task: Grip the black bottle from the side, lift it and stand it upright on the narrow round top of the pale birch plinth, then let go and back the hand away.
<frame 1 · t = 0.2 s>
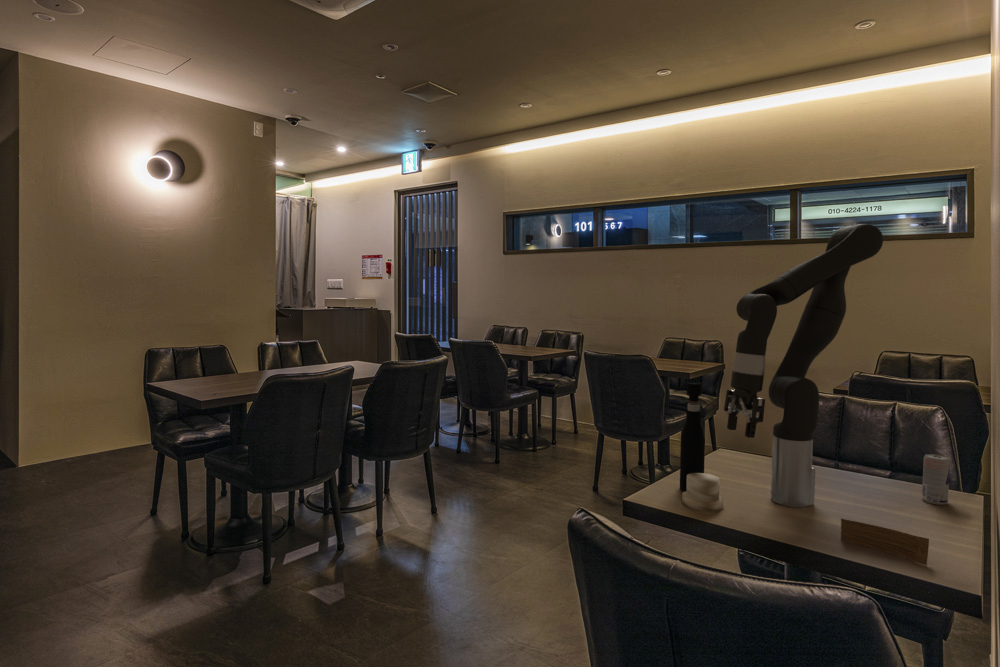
hand: (740, 433, 142), 18 cm above the table, tool pointing down, fingers open, 8 cm apart
wood plank: (881, 552, 116), on the table
black bottle: (691, 490, 154), on the table
plinth: (702, 504, 143), on the table
energy drink: (934, 502, 145), on the table
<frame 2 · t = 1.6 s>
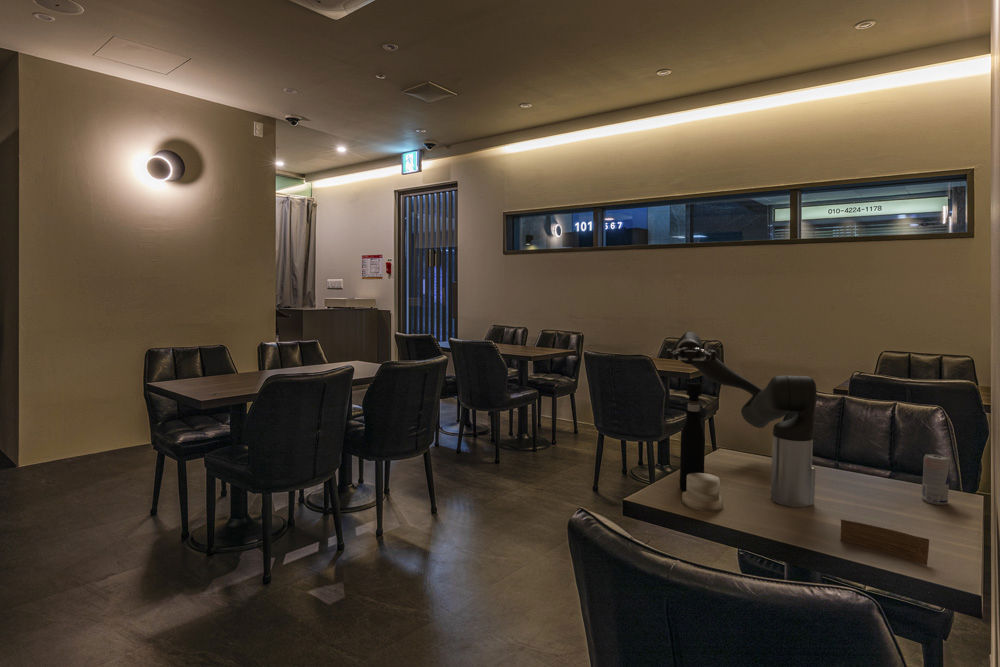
hand: (691, 357, 163), 36 cm above the table, tool horizontal, fingers open, 8 cm apart
nothing on the table moved.
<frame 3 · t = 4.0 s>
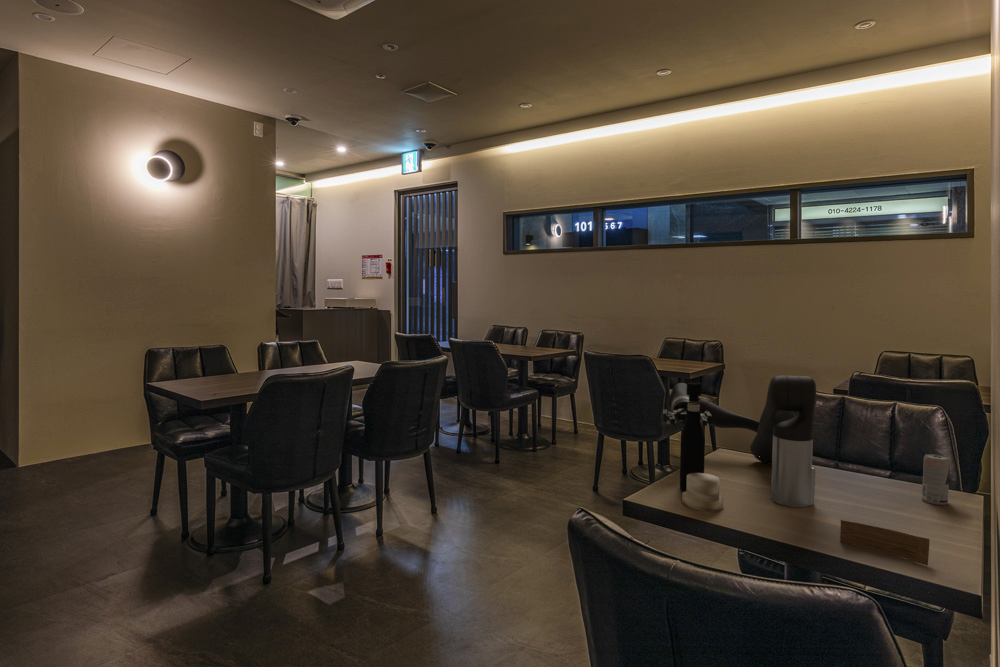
hand: (688, 422, 163), 17 cm above the table, tool horizontal, fingers open, 8 cm apart
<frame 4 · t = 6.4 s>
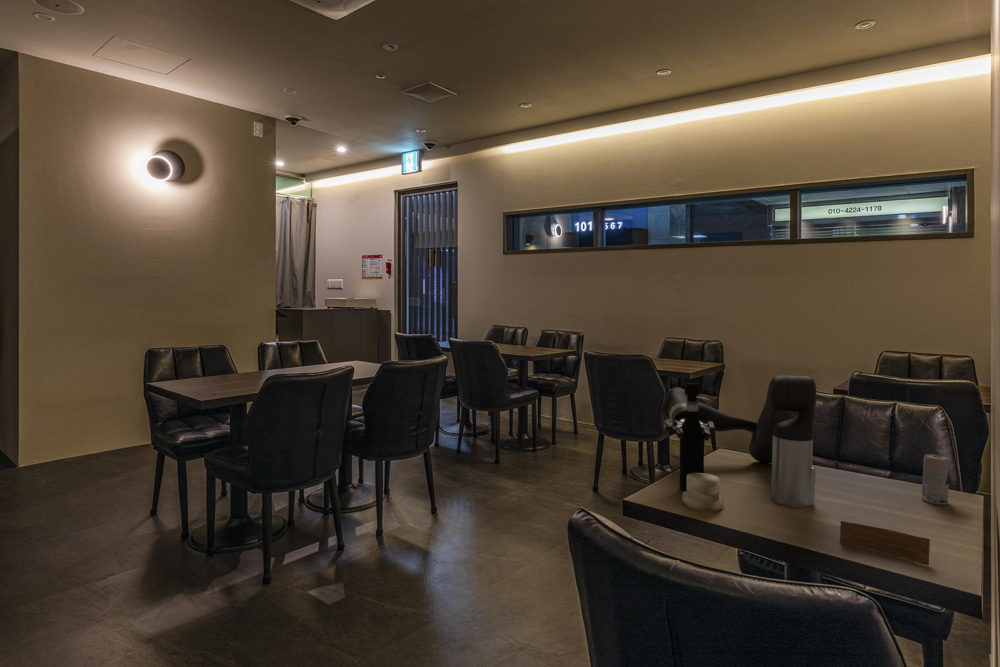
hand: (694, 436, 149), 16 cm above the table, tool horizontal, fingers closed on black bottle, 6 cm apart
black bottle: (691, 489, 154), on the table, touching gripper
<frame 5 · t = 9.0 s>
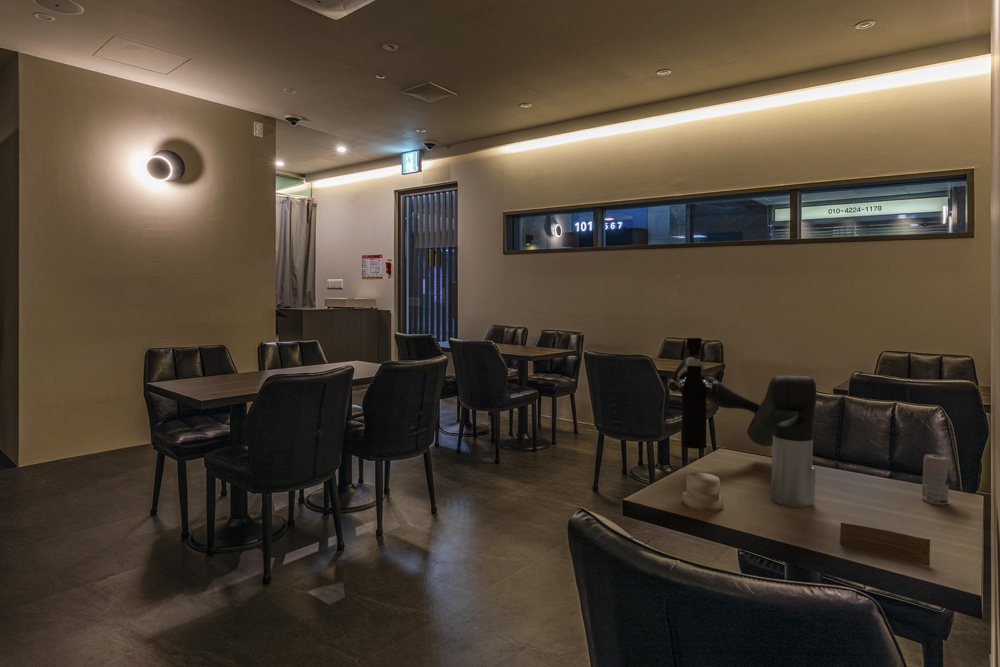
hand: (695, 390, 149), 29 cm above the table, tool horizontal, fingers closed on black bottle, 6 cm apart
black bottle: (693, 447, 152), point 12 cm above the table, touching gripper
when the fingers open (24 cm above the table, at t = 11.4 s): black bottle stays where it is, resting on plinth.
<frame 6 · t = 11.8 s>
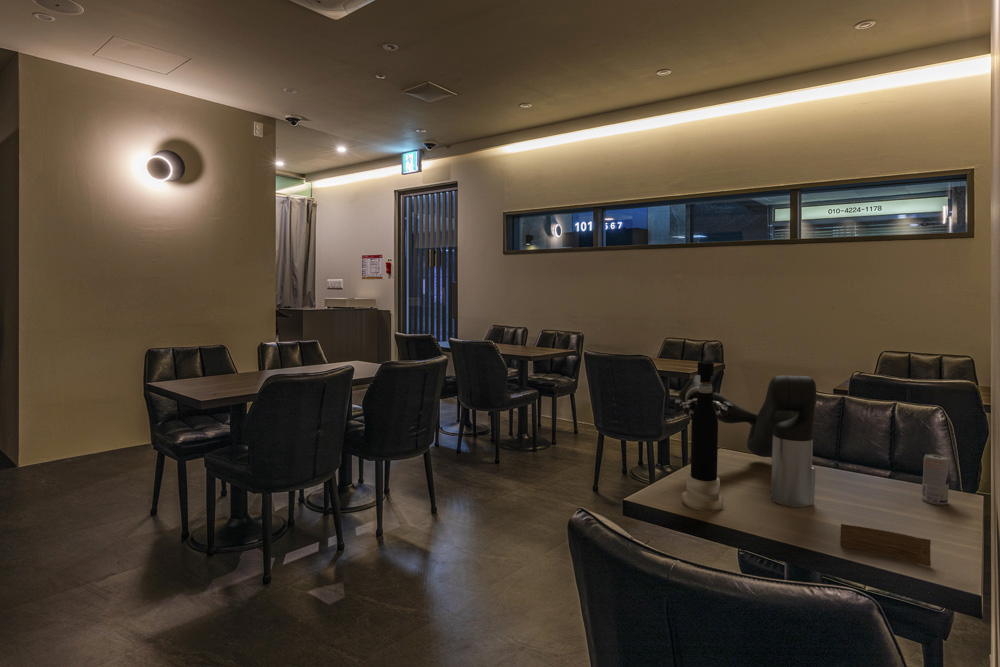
hand: (705, 412, 140), 24 cm above the table, tool horizontal, fingers open, 8 cm apart
black bottle: (703, 477, 143), point 7 cm above the table, touching plinth
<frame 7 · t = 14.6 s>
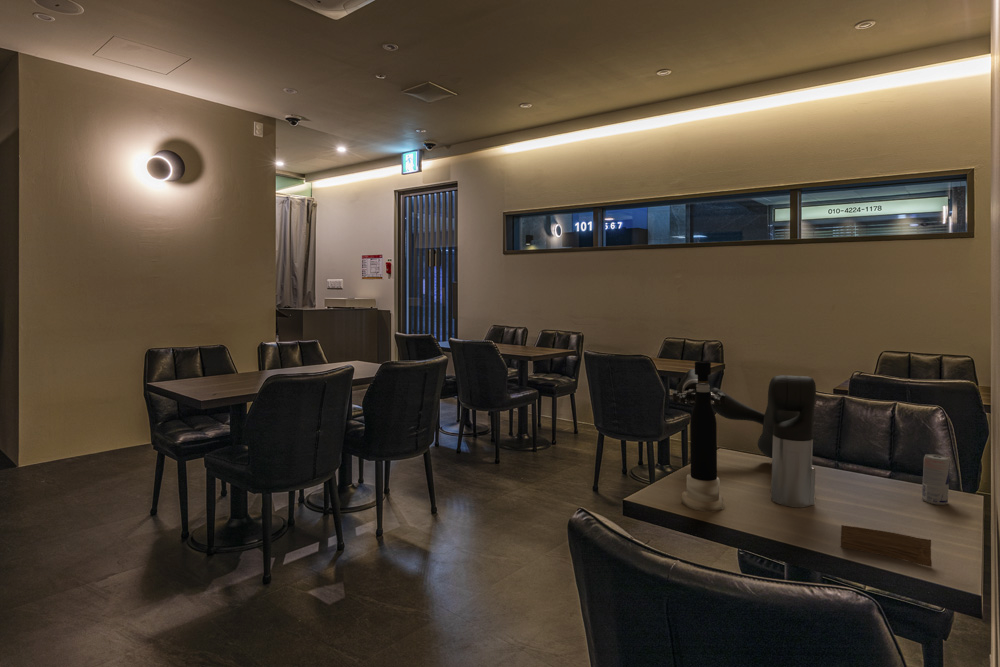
hand: (700, 401, 152), 25 cm above the table, tool horizontal, fingers open, 8 cm apart
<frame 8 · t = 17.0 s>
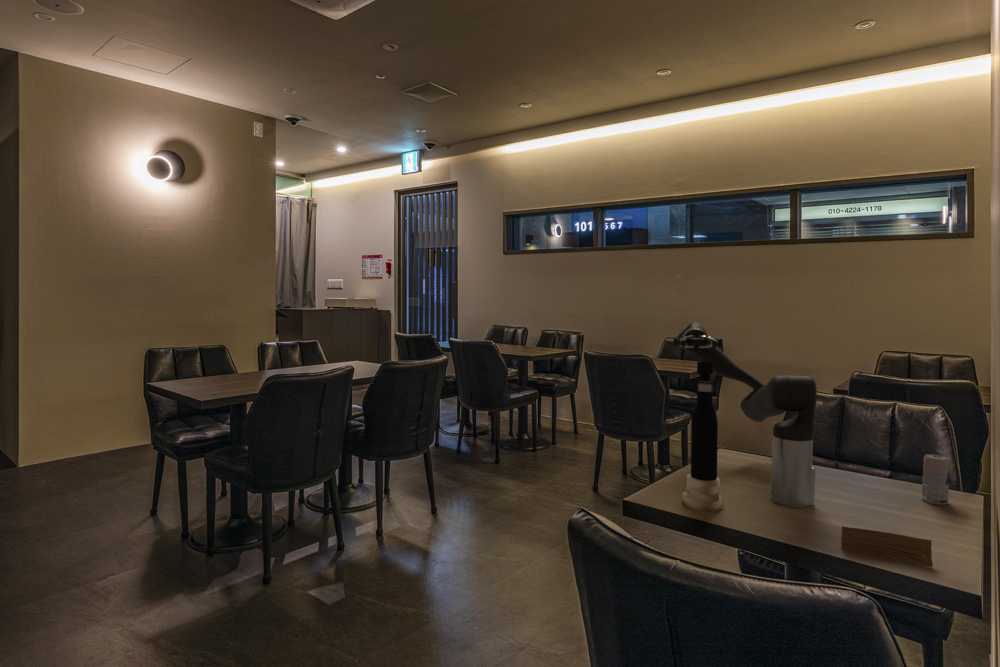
hand: (699, 343, 163), 40 cm above the table, tool horizontal, fingers open, 8 cm apart
at the end: black bottle 0.4 cm off-centre on the plinth, point 6.8 cm above the plinth's base; black bottle tilted 1°; the gripper is holding nothing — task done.
